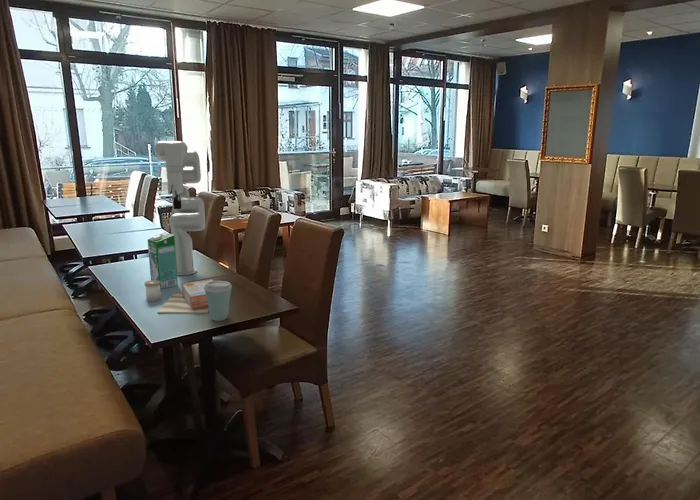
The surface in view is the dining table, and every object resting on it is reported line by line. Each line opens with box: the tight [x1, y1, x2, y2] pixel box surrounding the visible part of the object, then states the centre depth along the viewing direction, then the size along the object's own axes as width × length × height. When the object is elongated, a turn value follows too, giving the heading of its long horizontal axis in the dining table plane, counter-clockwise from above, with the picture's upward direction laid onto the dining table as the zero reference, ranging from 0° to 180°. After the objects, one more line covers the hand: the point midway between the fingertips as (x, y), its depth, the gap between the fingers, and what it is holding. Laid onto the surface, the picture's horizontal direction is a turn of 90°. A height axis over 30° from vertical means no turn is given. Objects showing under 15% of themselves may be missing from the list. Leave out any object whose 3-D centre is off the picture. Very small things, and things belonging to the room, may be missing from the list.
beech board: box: [157, 293, 209, 314], centre depth 213 cm, size 23×20×1 cm
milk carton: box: [147, 232, 179, 290], centre depth 234 cm, size 9×9×25 cm
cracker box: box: [180, 278, 215, 309], centre depth 216 cm, size 14×6×21 cm
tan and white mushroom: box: [144, 279, 162, 302], centre depth 217 cm, size 7×7×8 cm
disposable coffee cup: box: [204, 280, 233, 322], centre depth 195 cm, size 11×11×15 cm
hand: (177, 208), depth 231 cm, fingers closed
